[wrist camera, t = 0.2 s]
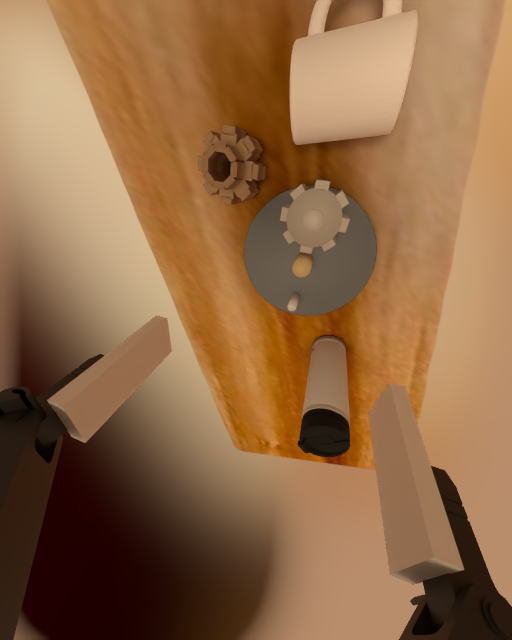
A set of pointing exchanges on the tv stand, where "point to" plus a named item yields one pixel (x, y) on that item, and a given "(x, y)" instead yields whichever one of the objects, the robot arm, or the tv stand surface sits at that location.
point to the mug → (351, 75)
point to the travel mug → (326, 400)
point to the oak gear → (243, 165)
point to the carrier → (310, 249)
